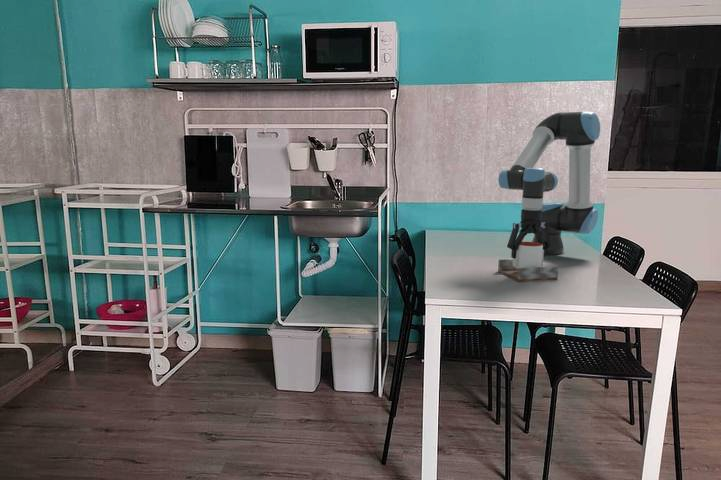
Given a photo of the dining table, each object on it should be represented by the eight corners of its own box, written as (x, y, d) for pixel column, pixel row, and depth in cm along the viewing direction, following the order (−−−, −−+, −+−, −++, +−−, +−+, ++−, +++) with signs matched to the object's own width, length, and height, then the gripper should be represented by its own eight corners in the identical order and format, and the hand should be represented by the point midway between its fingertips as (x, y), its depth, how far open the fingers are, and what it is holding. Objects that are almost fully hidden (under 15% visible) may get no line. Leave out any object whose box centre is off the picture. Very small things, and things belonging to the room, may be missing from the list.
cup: (541, 267, 211) (543, 242, 209) (540, 273, 202) (542, 247, 200) (514, 265, 214) (516, 240, 212) (513, 270, 205) (515, 245, 203)
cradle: (533, 269, 218) (534, 257, 217) (557, 279, 202) (558, 267, 201) (497, 271, 214) (498, 259, 213) (519, 282, 199) (520, 268, 198)
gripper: (552, 207, 210) (548, 262, 214) (499, 208, 205) (496, 264, 209) (563, 209, 203) (559, 266, 207) (509, 210, 197) (505, 269, 201)
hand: (527, 265), depth 208 cm, fingers closed on cup, 10 cm apart
